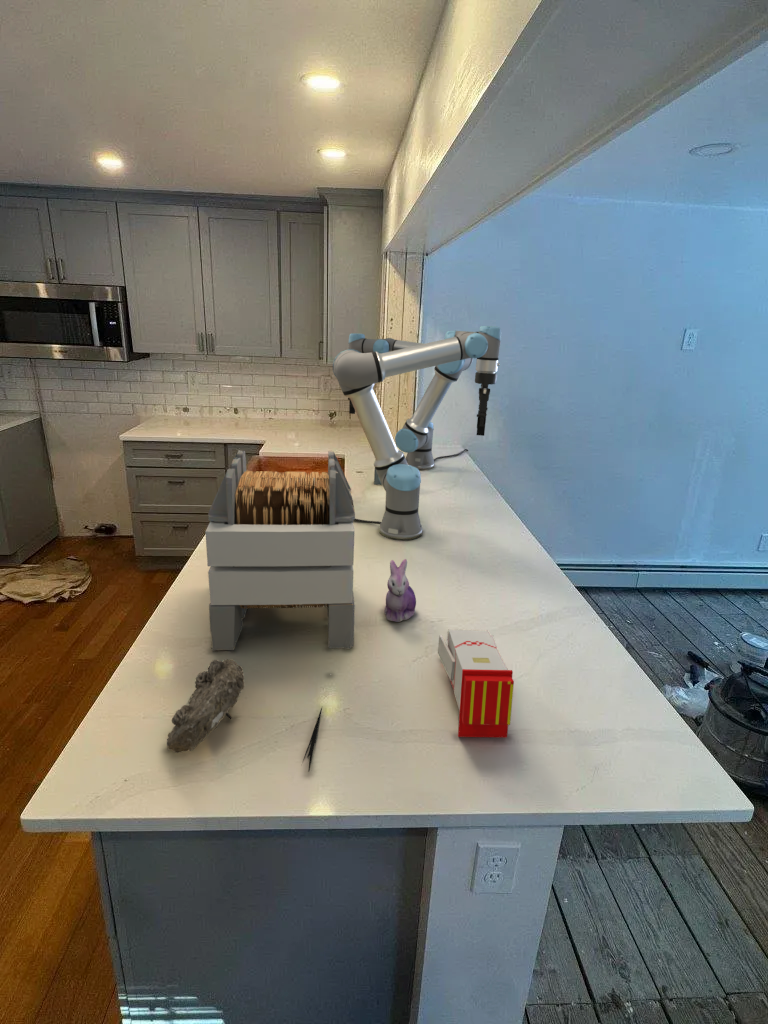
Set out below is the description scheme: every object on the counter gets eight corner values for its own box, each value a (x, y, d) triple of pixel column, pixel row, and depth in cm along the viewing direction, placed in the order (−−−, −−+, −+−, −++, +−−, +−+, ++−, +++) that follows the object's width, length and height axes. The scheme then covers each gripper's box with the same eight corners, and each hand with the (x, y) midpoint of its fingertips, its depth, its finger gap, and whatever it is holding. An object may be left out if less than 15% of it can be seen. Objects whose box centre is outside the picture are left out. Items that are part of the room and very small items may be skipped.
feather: (331, 679, 122) (336, 673, 122) (307, 777, 96) (313, 769, 95) (324, 675, 122) (329, 669, 121) (298, 772, 95) (304, 764, 95)
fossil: (192, 660, 117) (244, 628, 112) (224, 691, 120) (276, 661, 115) (142, 746, 98) (202, 712, 93) (182, 779, 101) (242, 748, 96)
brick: (394, 486, 253) (395, 462, 250) (374, 484, 254) (374, 461, 251) (395, 482, 258) (396, 459, 255) (375, 481, 260) (376, 458, 256)
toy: (488, 613, 130) (523, 677, 101) (484, 667, 133) (517, 744, 104) (435, 612, 130) (455, 676, 101) (432, 666, 133) (451, 743, 103)
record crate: (231, 583, 159) (223, 441, 145) (347, 582, 163) (350, 443, 149) (209, 653, 127) (196, 479, 114) (354, 649, 131) (359, 481, 117)
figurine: (392, 627, 141) (395, 572, 136) (374, 608, 149) (376, 556, 144) (425, 619, 145) (429, 566, 140) (405, 601, 154) (408, 550, 149)
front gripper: (498, 376, 188) (491, 439, 195) (496, 369, 211) (490, 425, 218) (475, 375, 189) (469, 437, 196) (475, 368, 212) (470, 424, 219)
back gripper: (358, 370, 260) (357, 416, 267) (368, 365, 283) (366, 407, 291) (342, 369, 261) (341, 415, 268) (353, 364, 284) (352, 406, 292)
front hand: (480, 431), depth 207 cm, fingers open, 13 cm apart
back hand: (354, 411), depth 280 cm, fingers open, 13 cm apart
